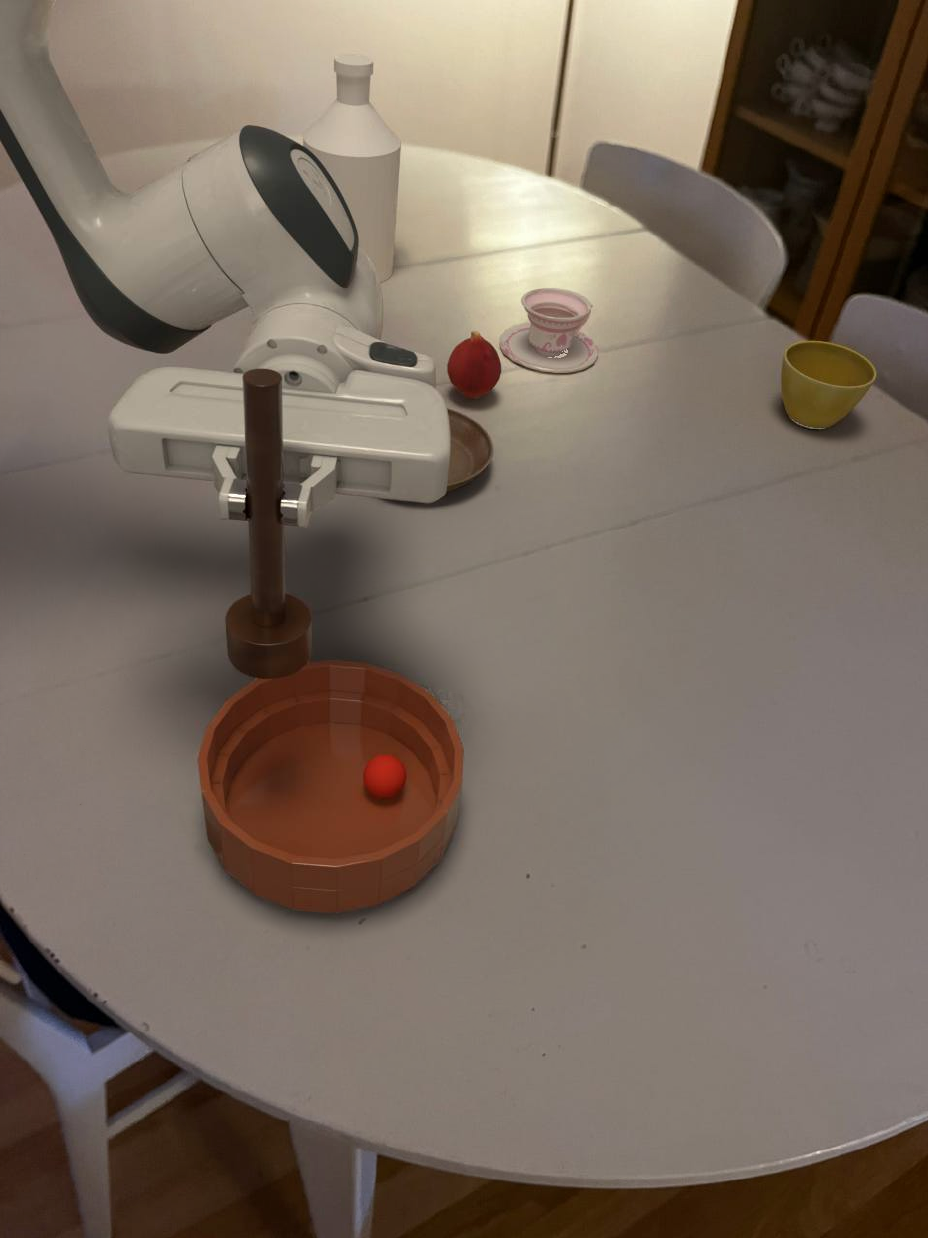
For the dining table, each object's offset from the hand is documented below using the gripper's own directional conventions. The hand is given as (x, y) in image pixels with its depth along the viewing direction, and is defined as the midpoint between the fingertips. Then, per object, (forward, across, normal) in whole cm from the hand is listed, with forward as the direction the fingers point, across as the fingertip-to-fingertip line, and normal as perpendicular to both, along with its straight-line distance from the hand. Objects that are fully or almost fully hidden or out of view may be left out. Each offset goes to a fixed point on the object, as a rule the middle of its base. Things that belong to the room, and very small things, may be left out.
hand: (263, 513), depth 57 cm
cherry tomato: (+1, +8, +21) cm, 23 cm away
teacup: (-68, +21, +24) cm, 75 cm away
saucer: (-41, +7, +24) cm, 48 cm away
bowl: (+2, +4, +24) cm, 24 cm away
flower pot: (-58, +51, +24) cm, 81 cm away
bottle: (-85, -5, +24) cm, 88 cm away
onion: (-55, +12, +24) cm, 61 cm away
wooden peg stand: (0, 0, +11) cm, 11 cm away
